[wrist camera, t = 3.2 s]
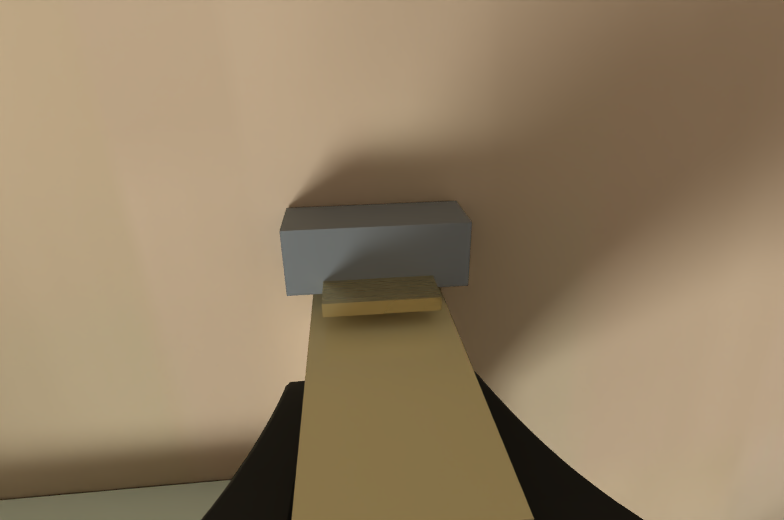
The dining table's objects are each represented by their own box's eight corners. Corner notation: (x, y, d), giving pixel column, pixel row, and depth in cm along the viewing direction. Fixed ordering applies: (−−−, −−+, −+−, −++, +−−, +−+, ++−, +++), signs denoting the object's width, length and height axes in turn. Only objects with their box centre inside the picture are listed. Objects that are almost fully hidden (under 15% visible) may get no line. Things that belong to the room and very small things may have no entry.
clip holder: (456, 200, 12) (484, 239, 9) (443, 470, 15) (462, 545, 13) (286, 207, 11) (273, 250, 9) (315, 482, 15) (311, 561, 13)
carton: (433, 273, 12) (538, 530, 6) (429, 424, 14) (504, 737, 8) (314, 280, 12) (287, 555, 6) (327, 432, 14) (319, 763, 8)
